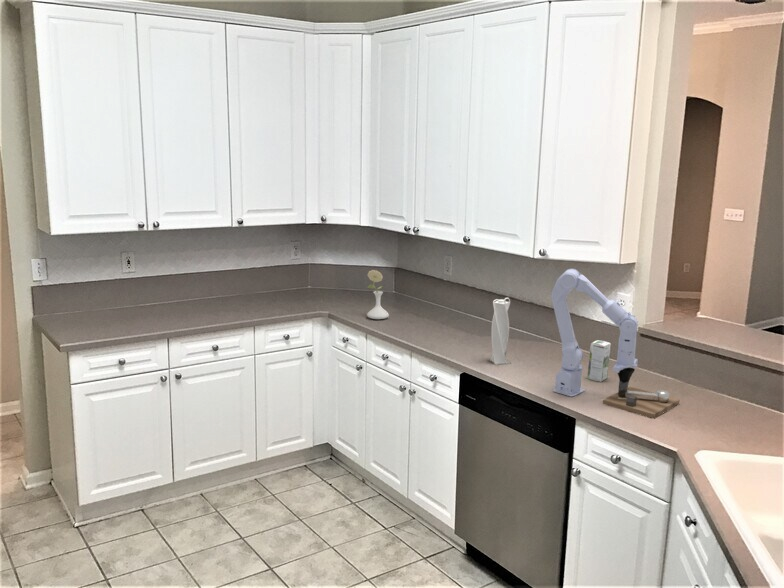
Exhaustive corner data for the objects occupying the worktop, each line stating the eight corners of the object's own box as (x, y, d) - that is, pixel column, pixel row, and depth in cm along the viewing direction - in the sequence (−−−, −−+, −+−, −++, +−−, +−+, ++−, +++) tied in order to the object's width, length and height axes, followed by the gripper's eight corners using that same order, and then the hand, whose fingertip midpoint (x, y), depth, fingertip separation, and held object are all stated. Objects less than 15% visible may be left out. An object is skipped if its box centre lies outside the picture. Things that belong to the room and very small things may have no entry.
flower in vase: (393, 318, 347) (394, 270, 341) (379, 322, 338) (380, 273, 333) (374, 314, 354) (374, 267, 349) (359, 317, 346) (360, 270, 341)
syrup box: (593, 375, 261) (596, 339, 258) (607, 378, 257) (611, 342, 254) (587, 379, 256) (590, 342, 253) (601, 382, 253) (605, 345, 250)
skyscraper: (512, 365, 272) (516, 298, 267) (493, 366, 271) (497, 298, 265) (504, 359, 280) (508, 293, 275) (486, 360, 279) (489, 294, 273)
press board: (653, 418, 218) (655, 405, 217) (602, 403, 231) (603, 391, 230) (679, 403, 232) (680, 391, 231) (629, 390, 245) (630, 378, 244)
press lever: (669, 402, 228) (670, 388, 227) (618, 397, 232) (619, 383, 231) (667, 398, 231) (669, 384, 230) (617, 393, 236) (618, 379, 235)
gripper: (627, 357, 225) (624, 395, 227) (647, 348, 235) (643, 385, 238) (608, 352, 230) (605, 390, 232) (627, 344, 240) (624, 380, 242)
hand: (623, 387), depth 235 cm, fingers closed
